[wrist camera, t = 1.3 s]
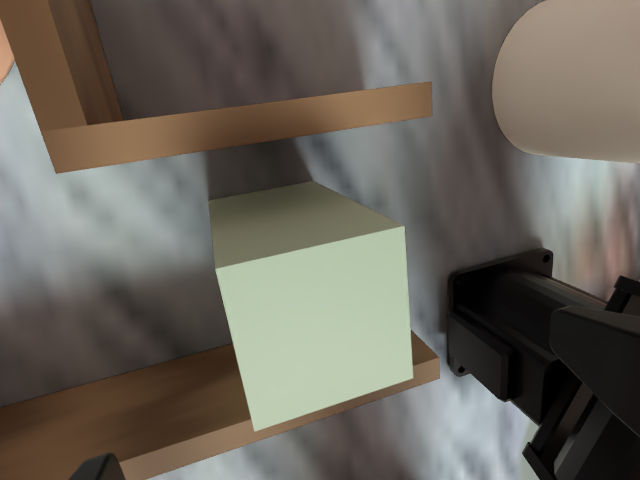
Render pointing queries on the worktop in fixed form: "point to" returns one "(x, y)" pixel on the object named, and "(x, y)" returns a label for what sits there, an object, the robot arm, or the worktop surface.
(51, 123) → the channel
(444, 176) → the worktop surface
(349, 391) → the block
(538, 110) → the cylindrical container
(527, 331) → the robot arm
